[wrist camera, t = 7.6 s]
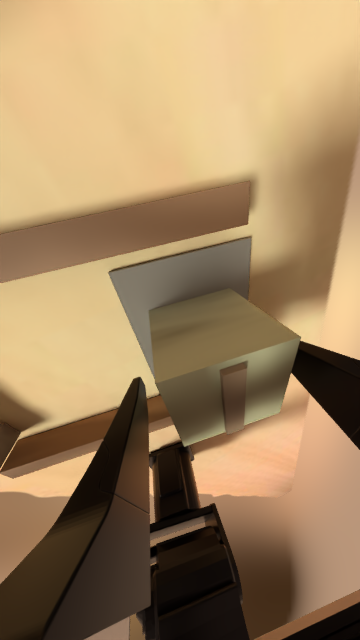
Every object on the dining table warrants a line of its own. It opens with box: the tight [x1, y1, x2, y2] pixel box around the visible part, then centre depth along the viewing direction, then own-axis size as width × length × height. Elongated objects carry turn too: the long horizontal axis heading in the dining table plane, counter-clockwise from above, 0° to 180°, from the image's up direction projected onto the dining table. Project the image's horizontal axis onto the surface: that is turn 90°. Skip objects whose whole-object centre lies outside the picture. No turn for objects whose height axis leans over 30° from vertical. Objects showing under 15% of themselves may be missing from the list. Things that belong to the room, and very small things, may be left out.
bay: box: [0, 181, 250, 479], centre depth 10 cm, size 17×24×5 cm
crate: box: [149, 288, 301, 447], centre depth 10 cm, size 6×6×6 cm
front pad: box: [108, 237, 251, 379], centre depth 13 cm, size 12×9×1 cm
